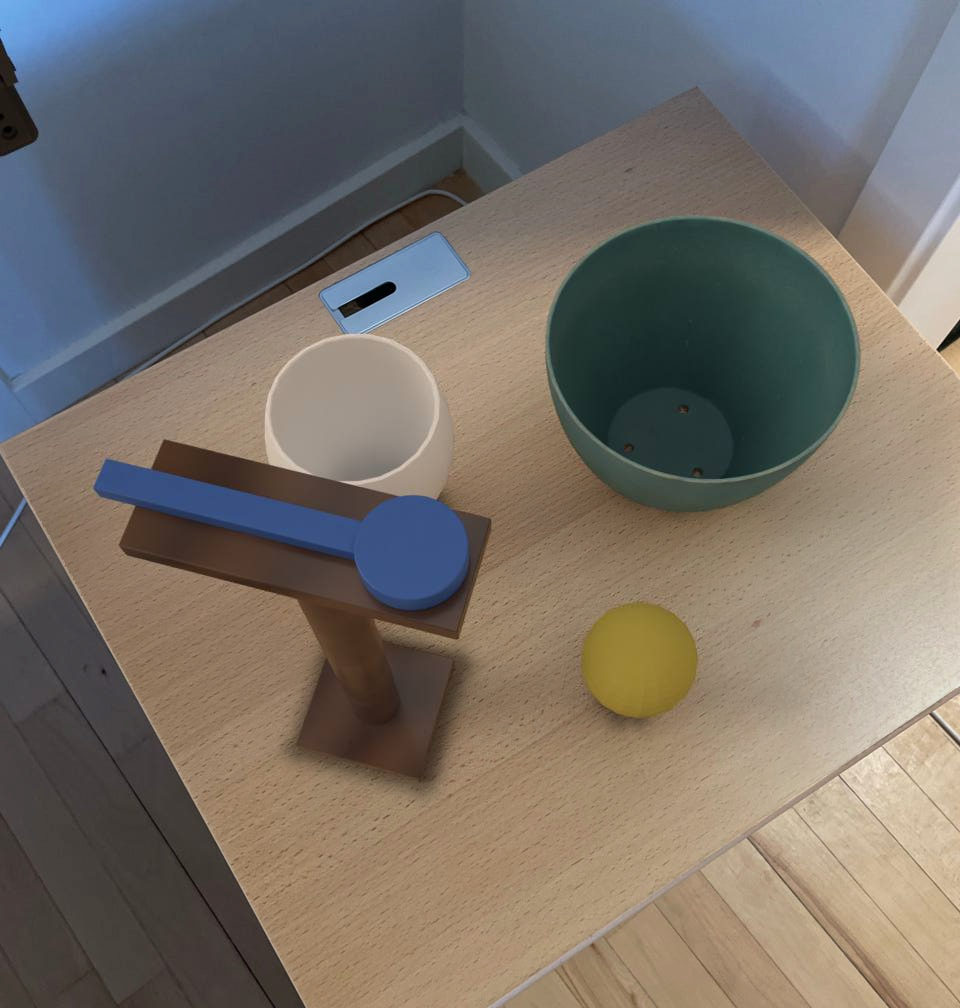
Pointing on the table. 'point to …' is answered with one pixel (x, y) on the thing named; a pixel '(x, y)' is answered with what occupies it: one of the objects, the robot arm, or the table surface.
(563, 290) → the plant pot
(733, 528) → the table surface
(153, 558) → the spoon stand
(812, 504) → the table surface
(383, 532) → the spoon
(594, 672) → the yellow ball
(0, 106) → the robot arm
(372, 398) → the cup
